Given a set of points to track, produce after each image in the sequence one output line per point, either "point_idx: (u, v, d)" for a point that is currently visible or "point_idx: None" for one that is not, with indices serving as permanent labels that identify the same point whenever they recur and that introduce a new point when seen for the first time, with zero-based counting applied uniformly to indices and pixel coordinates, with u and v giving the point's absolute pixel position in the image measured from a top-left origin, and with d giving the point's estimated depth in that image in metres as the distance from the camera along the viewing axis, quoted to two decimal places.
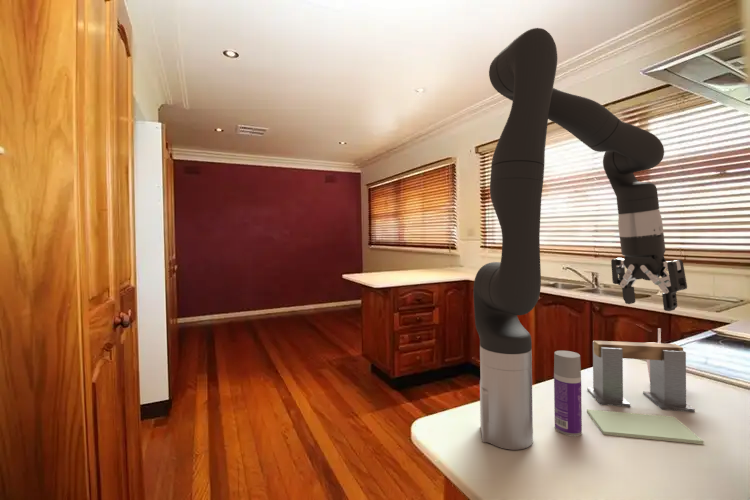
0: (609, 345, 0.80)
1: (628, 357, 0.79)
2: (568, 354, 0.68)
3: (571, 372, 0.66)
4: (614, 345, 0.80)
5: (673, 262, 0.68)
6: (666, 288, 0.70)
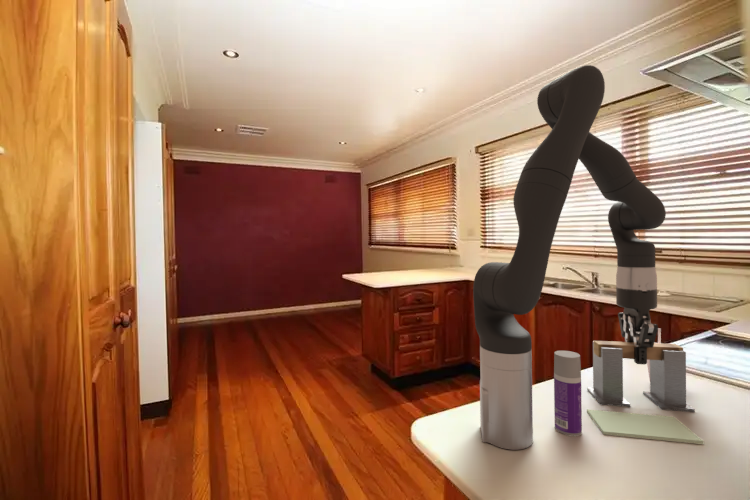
0: (609, 345, 0.80)
1: (628, 357, 0.79)
2: (568, 354, 0.68)
3: (571, 372, 0.66)
4: (614, 345, 0.80)
5: (646, 326, 0.74)
6: (635, 342, 0.78)
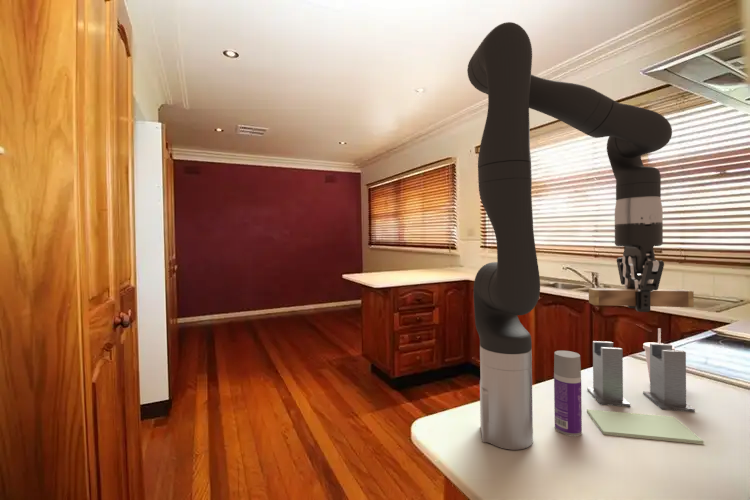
0: (606, 291, 0.69)
1: (629, 304, 0.68)
2: (568, 354, 0.68)
3: (571, 372, 0.66)
4: (612, 291, 0.68)
5: (650, 263, 0.62)
6: (637, 286, 0.66)
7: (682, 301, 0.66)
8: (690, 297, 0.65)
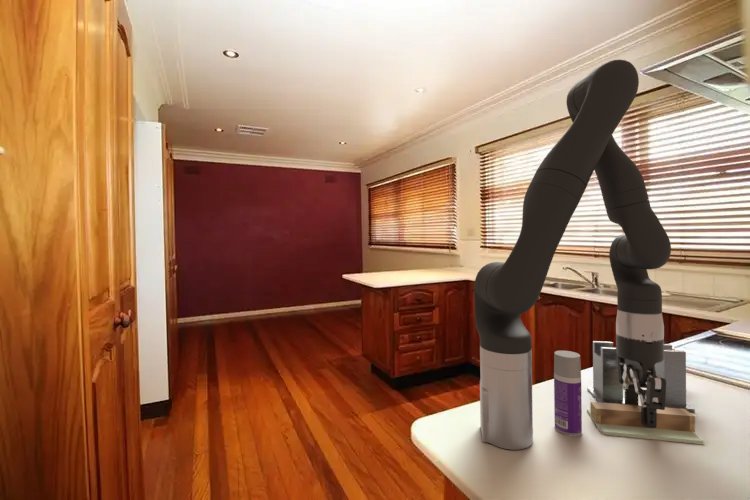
0: (608, 410, 0.69)
1: (630, 425, 0.68)
2: (568, 354, 0.68)
3: (571, 372, 0.66)
4: (614, 410, 0.69)
5: (652, 379, 0.63)
6: (643, 402, 0.65)
7: (683, 425, 0.66)
8: (691, 422, 0.66)
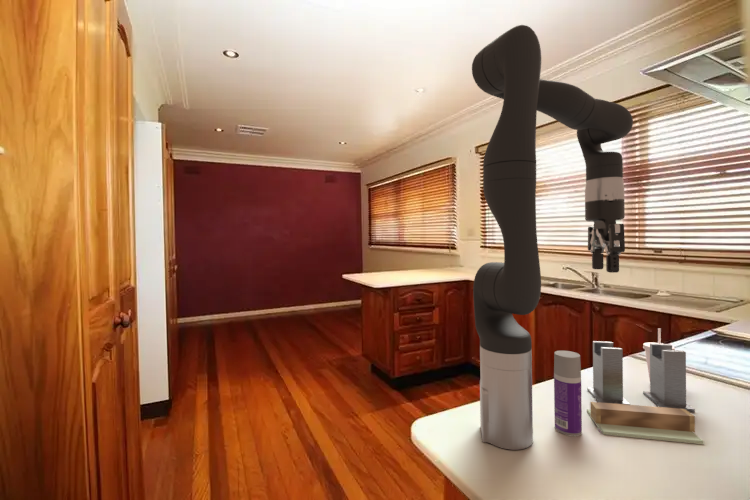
0: (608, 410, 0.69)
1: (630, 425, 0.68)
2: (568, 354, 0.68)
3: (571, 372, 0.66)
4: (614, 410, 0.69)
5: (612, 224, 0.73)
6: (607, 250, 0.75)
7: (683, 425, 0.66)
8: (691, 422, 0.66)
